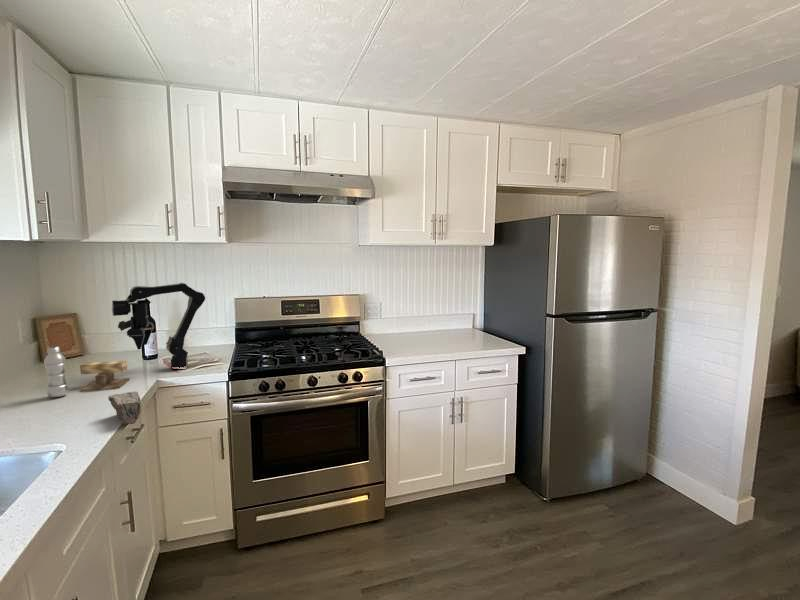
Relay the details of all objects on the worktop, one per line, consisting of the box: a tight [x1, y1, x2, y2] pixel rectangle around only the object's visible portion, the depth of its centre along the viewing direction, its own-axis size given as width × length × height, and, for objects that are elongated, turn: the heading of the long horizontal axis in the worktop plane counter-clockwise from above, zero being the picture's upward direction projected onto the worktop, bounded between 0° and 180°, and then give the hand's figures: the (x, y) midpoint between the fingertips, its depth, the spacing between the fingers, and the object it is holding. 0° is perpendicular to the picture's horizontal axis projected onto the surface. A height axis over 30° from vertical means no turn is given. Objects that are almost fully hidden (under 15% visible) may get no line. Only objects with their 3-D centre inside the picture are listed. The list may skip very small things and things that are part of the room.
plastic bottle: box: [43, 345, 69, 398], centre depth 166 cm, size 6×7×20 cm
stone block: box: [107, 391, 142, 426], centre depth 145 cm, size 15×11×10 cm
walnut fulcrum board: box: [79, 373, 130, 392], centre depth 180 cm, size 14×12×6 cm
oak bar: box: [79, 360, 128, 375], centre depth 179 cm, size 16×4×4 cm, turn 100°
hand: (142, 346), depth 195 cm, fingers open, 9 cm apart
